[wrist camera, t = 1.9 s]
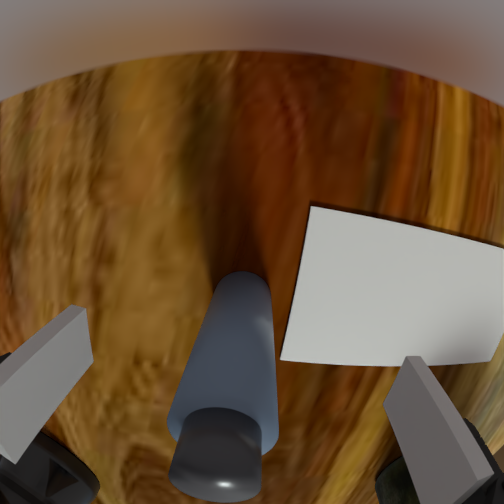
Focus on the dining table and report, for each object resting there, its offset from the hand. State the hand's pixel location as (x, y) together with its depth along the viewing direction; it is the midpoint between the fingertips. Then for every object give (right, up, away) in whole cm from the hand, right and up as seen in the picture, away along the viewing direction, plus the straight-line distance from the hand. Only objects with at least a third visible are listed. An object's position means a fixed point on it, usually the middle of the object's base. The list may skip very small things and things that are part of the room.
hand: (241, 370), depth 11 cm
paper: (+13, +1, +7) cm, 15 cm away
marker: (0, +2, +7) cm, 7 cm away
